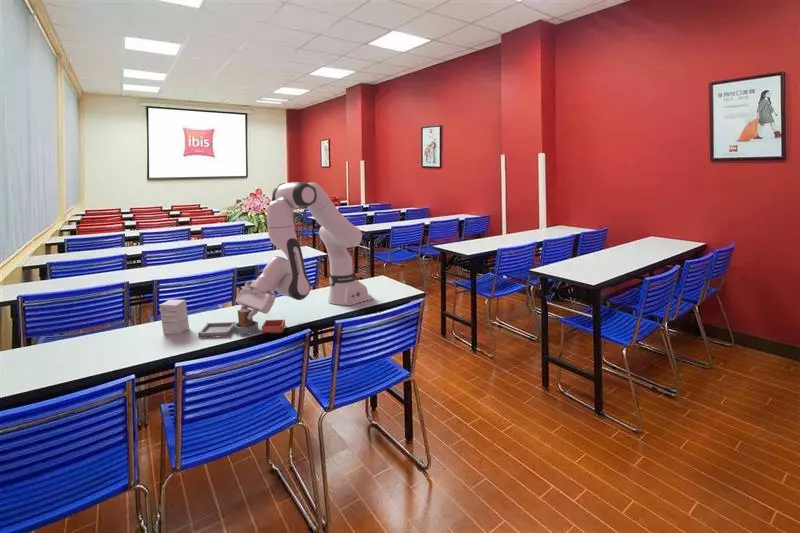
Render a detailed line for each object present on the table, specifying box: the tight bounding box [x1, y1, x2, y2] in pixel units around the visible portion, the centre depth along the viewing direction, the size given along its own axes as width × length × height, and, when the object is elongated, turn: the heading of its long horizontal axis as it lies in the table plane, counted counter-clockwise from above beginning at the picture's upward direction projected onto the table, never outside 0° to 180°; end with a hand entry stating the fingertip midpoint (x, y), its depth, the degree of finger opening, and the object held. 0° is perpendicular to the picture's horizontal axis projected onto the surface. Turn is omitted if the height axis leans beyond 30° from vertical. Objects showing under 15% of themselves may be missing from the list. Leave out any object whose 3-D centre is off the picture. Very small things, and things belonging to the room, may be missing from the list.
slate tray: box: [197, 321, 237, 338], centre depth 187 cm, size 12×12×2 cm
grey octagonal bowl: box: [233, 320, 259, 335], centre depth 188 cm, size 9×9×3 cm
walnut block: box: [237, 308, 254, 327], centre depth 188 cm, size 4×4×9 cm
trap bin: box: [261, 319, 286, 334], centre depth 189 cm, size 8×8×3 cm
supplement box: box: [159, 299, 190, 335], centre depth 187 cm, size 7×7×13 cm
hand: (243, 317), depth 187 cm, fingers closed on walnut block, 4 cm apart
